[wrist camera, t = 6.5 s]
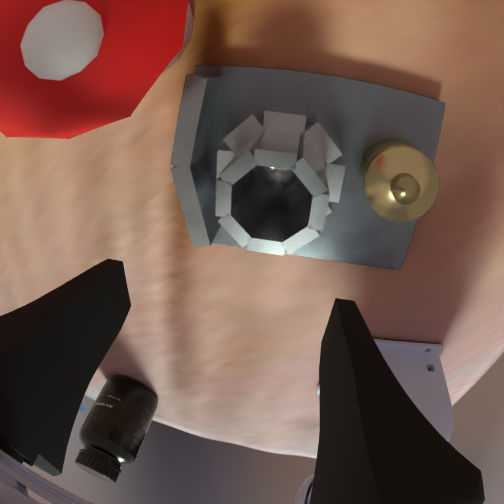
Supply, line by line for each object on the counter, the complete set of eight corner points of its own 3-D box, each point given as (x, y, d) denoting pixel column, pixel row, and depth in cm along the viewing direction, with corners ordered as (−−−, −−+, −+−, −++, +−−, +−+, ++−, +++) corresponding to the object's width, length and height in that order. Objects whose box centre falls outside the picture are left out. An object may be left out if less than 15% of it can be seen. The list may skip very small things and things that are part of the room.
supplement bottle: (115, 365, 32) (69, 454, 22) (167, 396, 33) (132, 487, 23) (102, 385, 36) (63, 460, 26) (148, 411, 37) (116, 489, 27)
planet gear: (347, 116, 15) (365, 140, 10) (329, 221, 18) (333, 281, 13) (229, 102, 15) (193, 120, 11) (224, 207, 19) (195, 260, 14)
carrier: (438, 100, 14) (470, 111, 11) (397, 261, 20) (410, 301, 16) (195, 65, 15) (165, 66, 12) (194, 231, 21) (172, 267, 18)
